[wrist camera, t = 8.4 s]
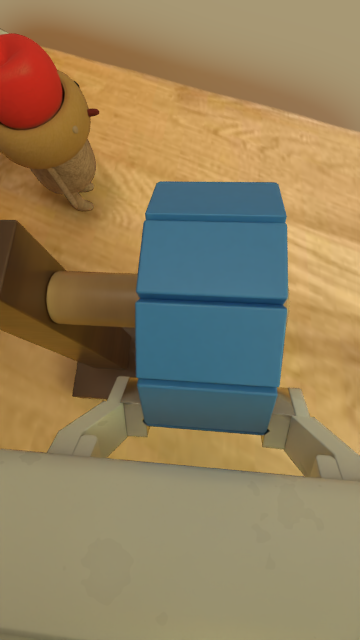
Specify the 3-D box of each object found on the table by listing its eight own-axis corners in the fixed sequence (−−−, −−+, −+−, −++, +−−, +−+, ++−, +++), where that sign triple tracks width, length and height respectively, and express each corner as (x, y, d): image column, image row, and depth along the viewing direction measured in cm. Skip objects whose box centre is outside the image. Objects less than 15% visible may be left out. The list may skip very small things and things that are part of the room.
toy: (129, 229, 34) (72, 94, 20) (46, 237, 35) (-68, 112, 20) (127, 157, 37) (75, -8, 22) (50, 166, 37) (-50, 10, 23)
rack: (79, 397, 30) (-150, 366, 11) (92, 312, 32) (-81, 159, 13) (243, 409, 28) (315, 399, 9) (244, 319, 31) (307, 160, 11)
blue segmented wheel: (165, 422, 19) (118, 430, 9) (179, 255, 22) (154, 120, 12) (246, 428, 18) (291, 445, 8) (249, 257, 21) (286, 119, 11)
